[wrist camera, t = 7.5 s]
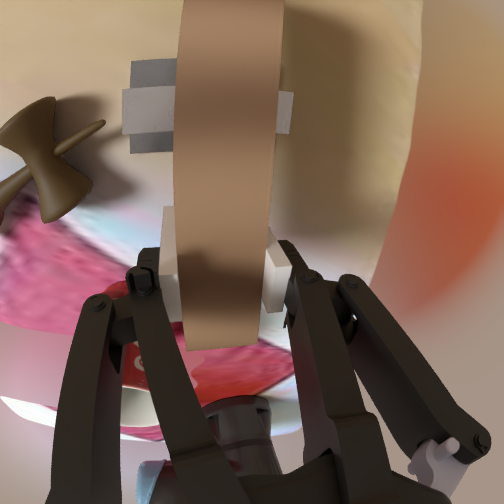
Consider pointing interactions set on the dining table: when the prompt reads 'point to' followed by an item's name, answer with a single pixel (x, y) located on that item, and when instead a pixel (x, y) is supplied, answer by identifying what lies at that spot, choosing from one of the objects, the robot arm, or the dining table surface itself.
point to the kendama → (44, 161)
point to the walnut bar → (224, 164)
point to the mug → (133, 379)
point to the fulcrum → (166, 106)
